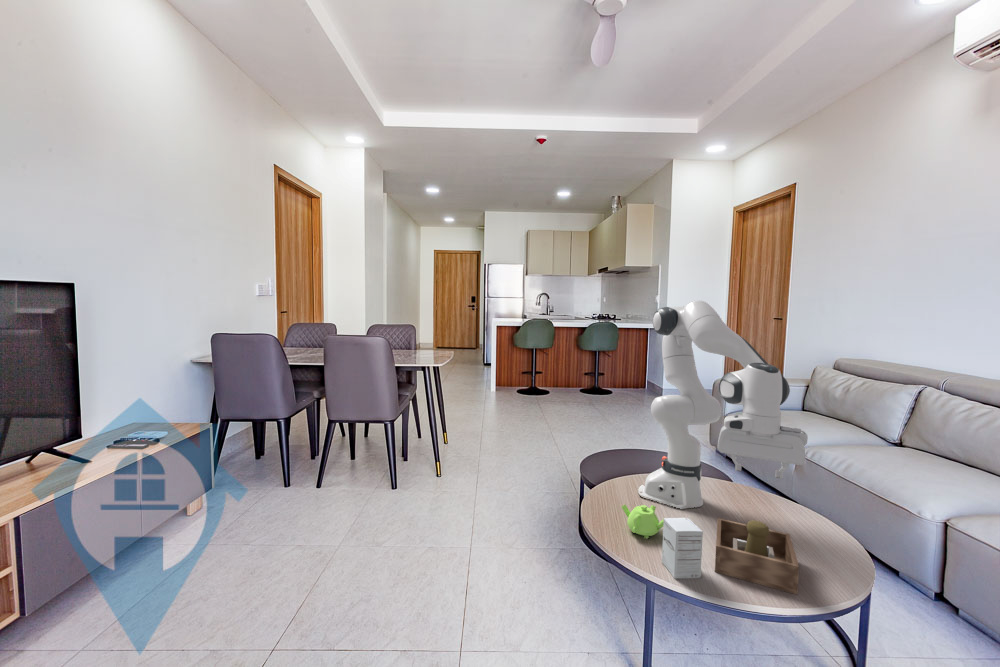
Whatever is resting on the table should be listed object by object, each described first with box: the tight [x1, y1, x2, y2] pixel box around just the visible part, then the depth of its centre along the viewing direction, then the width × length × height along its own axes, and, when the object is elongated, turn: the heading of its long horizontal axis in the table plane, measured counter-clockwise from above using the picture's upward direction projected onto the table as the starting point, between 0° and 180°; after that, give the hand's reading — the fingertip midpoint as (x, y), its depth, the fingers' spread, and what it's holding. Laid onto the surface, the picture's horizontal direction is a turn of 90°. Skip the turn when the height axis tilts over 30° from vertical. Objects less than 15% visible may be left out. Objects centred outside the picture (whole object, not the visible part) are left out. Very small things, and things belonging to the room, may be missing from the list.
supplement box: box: [661, 517, 704, 579], centre depth 111 cm, size 7×7×13 cm
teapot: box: [620, 504, 664, 539], centre depth 131 cm, size 11×12×8 cm
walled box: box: [714, 517, 800, 595], centre depth 115 cm, size 18×18×7 cm
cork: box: [745, 519, 770, 557], centre depth 114 cm, size 6×6×11 cm
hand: (758, 474), depth 114 cm, fingers open, 8 cm apart
